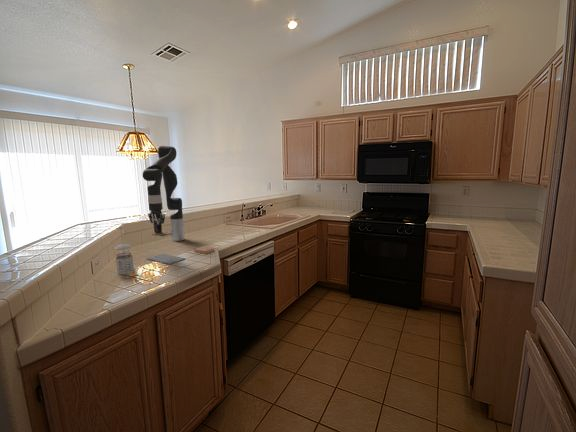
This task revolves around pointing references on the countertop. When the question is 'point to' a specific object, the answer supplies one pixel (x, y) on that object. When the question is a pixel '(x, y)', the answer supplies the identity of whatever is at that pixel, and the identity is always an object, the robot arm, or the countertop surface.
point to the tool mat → (166, 259)
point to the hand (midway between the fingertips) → (158, 230)
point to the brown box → (159, 233)
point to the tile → (204, 250)
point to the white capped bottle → (124, 259)
